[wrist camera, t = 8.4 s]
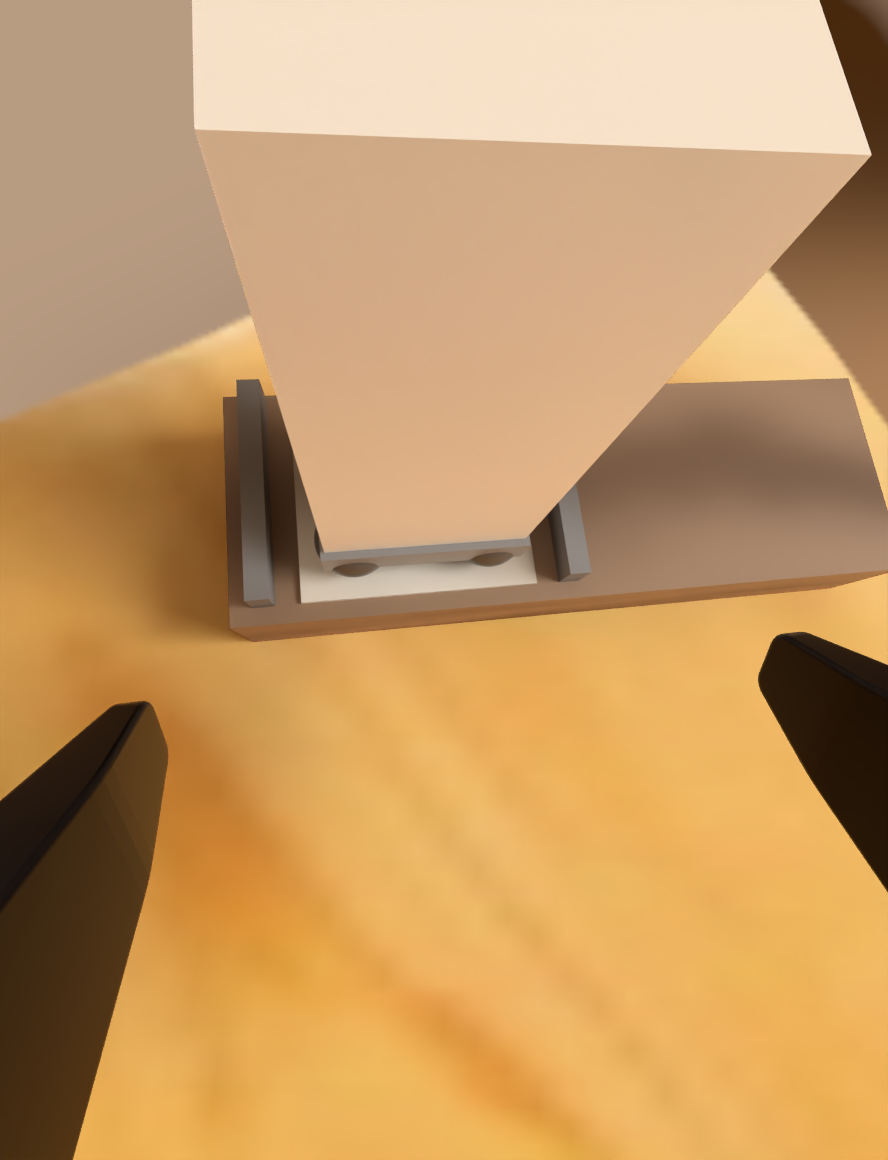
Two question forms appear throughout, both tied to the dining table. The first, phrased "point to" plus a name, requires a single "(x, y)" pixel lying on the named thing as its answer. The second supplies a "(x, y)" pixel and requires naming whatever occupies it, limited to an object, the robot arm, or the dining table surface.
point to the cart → (499, 231)
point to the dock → (588, 518)
